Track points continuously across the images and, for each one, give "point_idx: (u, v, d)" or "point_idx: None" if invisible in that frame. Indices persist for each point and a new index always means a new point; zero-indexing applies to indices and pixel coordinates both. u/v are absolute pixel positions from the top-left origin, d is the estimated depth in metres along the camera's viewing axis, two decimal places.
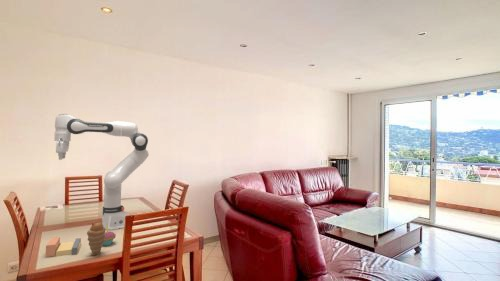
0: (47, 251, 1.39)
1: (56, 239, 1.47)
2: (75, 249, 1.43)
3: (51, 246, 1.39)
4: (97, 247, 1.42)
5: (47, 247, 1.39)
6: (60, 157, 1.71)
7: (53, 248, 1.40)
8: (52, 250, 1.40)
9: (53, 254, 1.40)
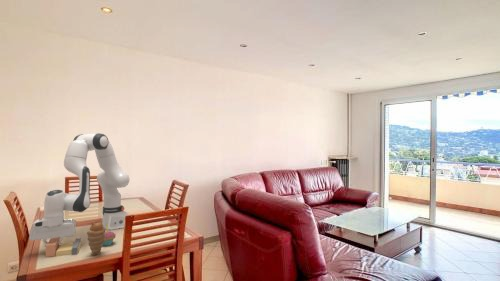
0: (47, 251, 1.39)
1: (56, 239, 1.47)
2: (75, 249, 1.43)
3: (51, 246, 1.39)
4: (97, 247, 1.42)
5: (47, 247, 1.39)
6: None
7: (53, 248, 1.40)
8: (52, 250, 1.40)
9: (53, 254, 1.40)
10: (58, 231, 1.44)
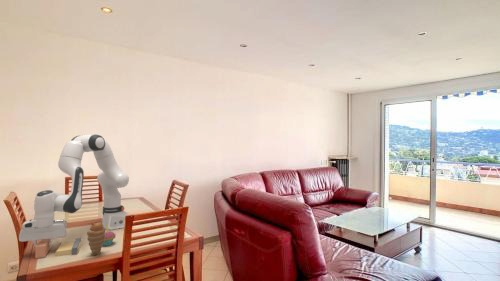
0: (37, 252, 1.37)
1: (47, 240, 1.45)
2: (75, 249, 1.43)
3: (41, 247, 1.37)
4: (97, 247, 1.42)
5: (37, 248, 1.37)
6: (51, 243, 1.44)
7: (43, 249, 1.38)
8: (42, 251, 1.38)
9: (43, 255, 1.38)
10: (49, 232, 1.42)
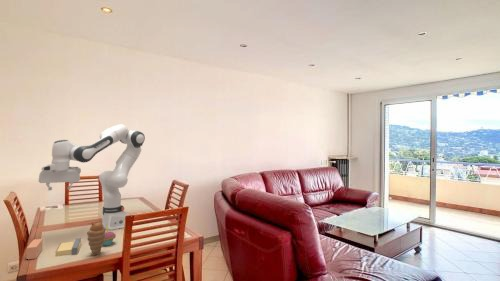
0: (28, 253, 1.35)
1: (38, 241, 1.43)
2: (75, 249, 1.43)
3: (32, 248, 1.36)
4: (97, 247, 1.42)
5: (28, 249, 1.35)
6: (70, 186, 1.62)
7: (34, 250, 1.36)
8: (34, 252, 1.36)
9: (34, 256, 1.36)
10: (64, 176, 1.59)
